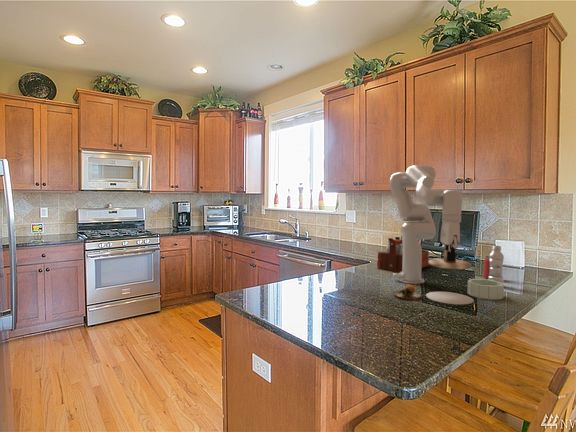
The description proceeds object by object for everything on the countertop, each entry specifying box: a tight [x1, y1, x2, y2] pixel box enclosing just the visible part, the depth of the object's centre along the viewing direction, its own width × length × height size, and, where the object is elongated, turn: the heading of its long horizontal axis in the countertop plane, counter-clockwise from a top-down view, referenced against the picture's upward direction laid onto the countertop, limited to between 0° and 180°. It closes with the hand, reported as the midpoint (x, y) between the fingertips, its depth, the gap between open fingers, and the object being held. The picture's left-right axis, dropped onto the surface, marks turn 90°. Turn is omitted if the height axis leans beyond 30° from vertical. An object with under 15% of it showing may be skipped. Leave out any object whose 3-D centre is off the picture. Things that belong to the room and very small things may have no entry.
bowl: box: [466, 278, 505, 300], centre depth 155 cm, size 14×14×6 cm
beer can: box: [483, 255, 490, 280], centre depth 187 cm, size 7×7×12 cm
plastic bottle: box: [487, 245, 505, 284], centre depth 173 cm, size 6×7×20 cm
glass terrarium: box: [393, 284, 422, 301], centre depth 152 cm, size 12×12×8 cm
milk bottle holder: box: [376, 235, 430, 273], centre depth 217 cm, size 21×35×19 cm, turn 137°
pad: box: [425, 291, 475, 305], centre depth 151 cm, size 19×19×1 cm
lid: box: [429, 249, 472, 270], centre depth 150 cm, size 17×17×6 cm
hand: (449, 259), depth 150 cm, fingers closed on lid, 3 cm apart
